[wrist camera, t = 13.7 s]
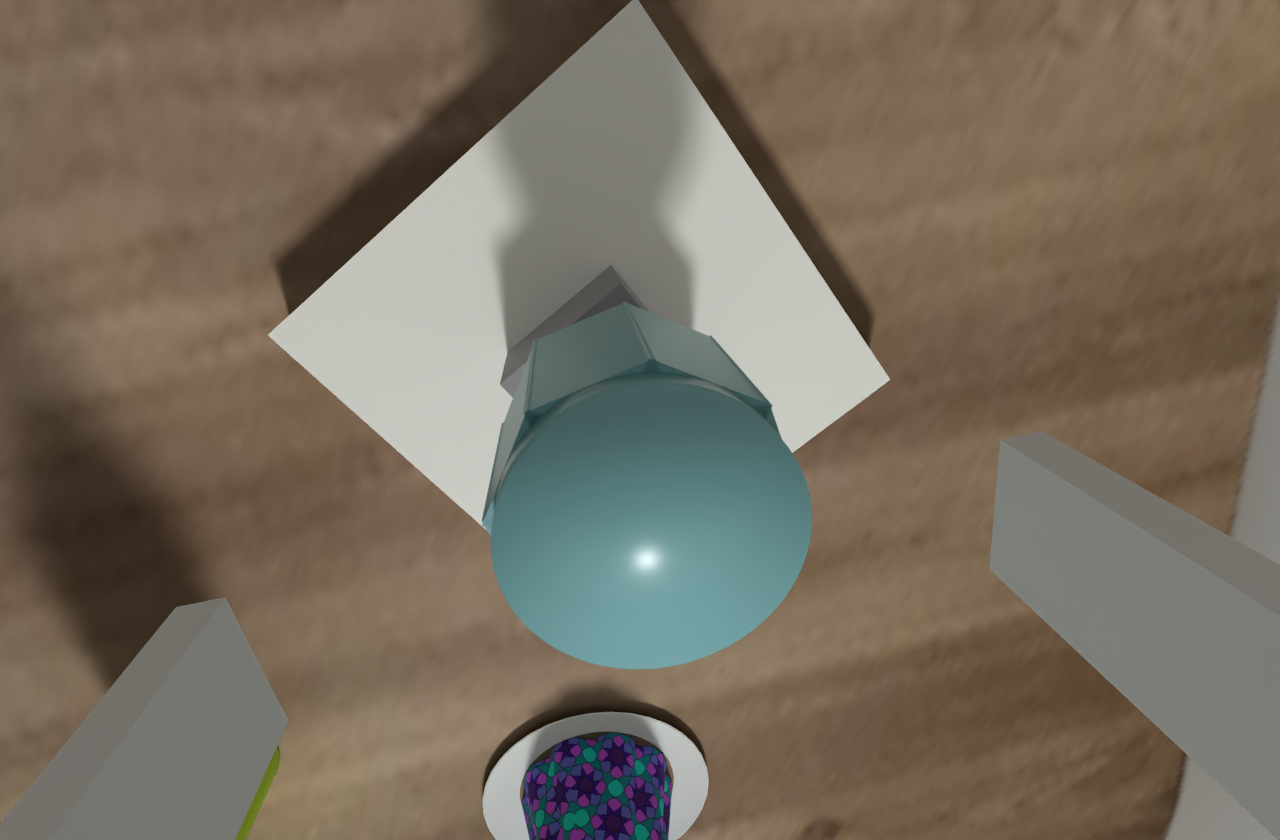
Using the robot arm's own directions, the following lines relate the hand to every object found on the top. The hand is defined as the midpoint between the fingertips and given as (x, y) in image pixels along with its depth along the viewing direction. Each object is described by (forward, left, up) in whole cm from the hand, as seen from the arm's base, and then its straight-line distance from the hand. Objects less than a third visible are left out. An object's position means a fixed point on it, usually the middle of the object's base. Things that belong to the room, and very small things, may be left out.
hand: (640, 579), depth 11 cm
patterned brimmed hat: (+19, -16, -16) cm, 29 cm away
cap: (0, 0, -7) cm, 7 cm away
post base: (0, 0, -15) cm, 15 cm away
